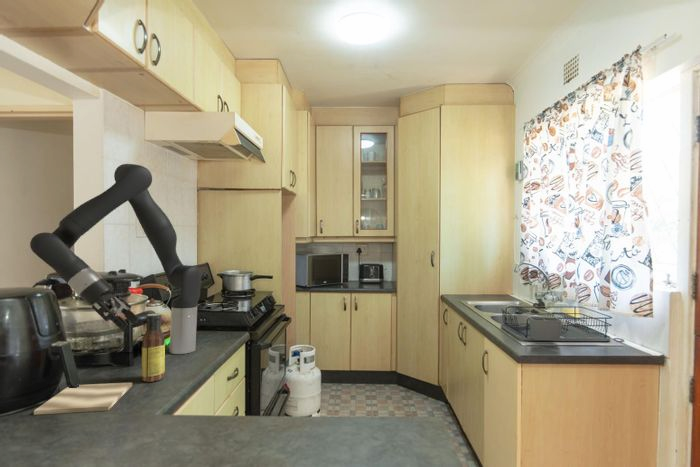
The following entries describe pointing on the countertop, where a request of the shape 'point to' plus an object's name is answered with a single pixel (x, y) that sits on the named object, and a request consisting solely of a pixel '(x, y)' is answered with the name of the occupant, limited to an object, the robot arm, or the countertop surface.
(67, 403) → the birch board
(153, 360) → the sauce bottle
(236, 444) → the countertop surface
